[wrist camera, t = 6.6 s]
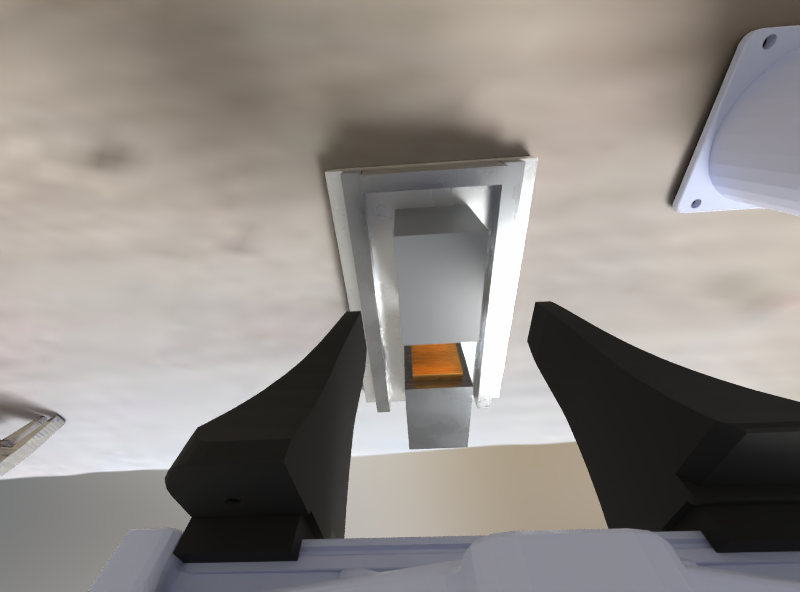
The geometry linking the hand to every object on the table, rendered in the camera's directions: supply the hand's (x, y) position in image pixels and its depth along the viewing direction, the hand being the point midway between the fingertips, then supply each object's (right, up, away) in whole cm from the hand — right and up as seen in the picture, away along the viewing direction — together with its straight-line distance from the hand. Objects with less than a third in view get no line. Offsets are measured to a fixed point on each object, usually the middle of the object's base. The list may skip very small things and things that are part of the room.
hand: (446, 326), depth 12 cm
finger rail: (0, +1, +8) cm, 8 cm away
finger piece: (0, +4, +5) cm, 7 cm away
